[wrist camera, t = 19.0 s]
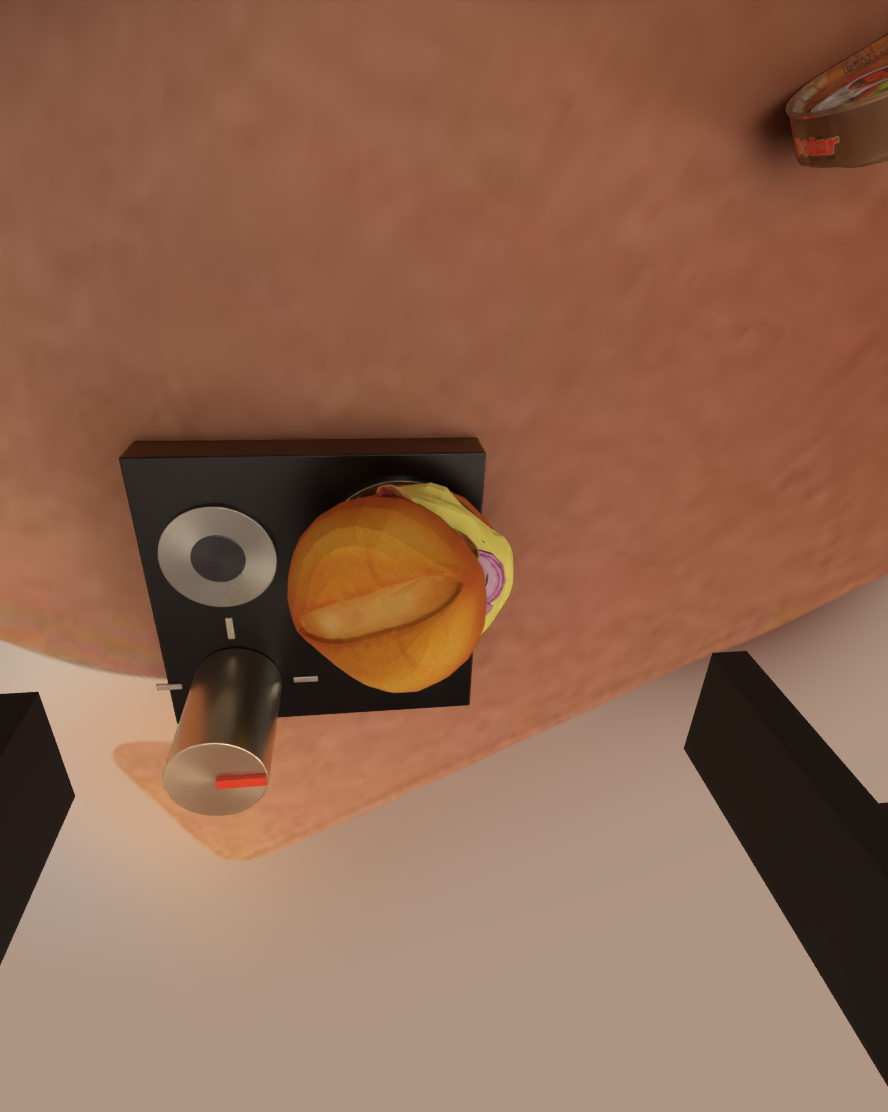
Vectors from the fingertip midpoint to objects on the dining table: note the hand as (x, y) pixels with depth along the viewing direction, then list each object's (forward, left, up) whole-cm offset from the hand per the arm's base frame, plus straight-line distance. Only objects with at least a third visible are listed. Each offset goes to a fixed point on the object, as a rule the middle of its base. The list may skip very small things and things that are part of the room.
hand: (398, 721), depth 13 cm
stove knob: (+16, -8, -21) cm, 28 cm away
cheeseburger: (+7, +2, -21) cm, 22 cm away
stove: (+10, -3, -24) cm, 26 cm away
